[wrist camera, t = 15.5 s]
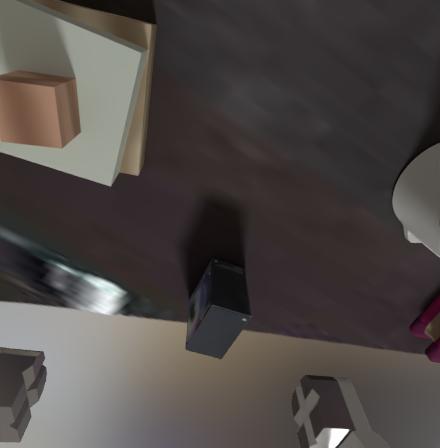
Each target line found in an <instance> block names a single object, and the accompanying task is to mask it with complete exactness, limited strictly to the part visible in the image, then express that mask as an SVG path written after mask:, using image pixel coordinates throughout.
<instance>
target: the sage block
mask: <svg viewBox="0 0 440 448" xmlns="http://www.w3.org/2000/svg"><path fill="white" fill-rule="evenodd" d="M147 54H148V49H145V48H143V47H141V46H138V45H136V44H134V43H131V42H129V41H126V40H124V39H122V38H119V37H117V36H115V35H112V34H110V33H107V32H105V31H103V30H100V29H98V28H96V27H93V26H91V25H88V24H86V23H84V22H81V21H79V20H77V19H74V18H72V17H70V16H67V15H65V14H62V13H60V12H58V11H55V10H53V9H51V8H48V7H46V6H43V5H41V4H39V3H36V2H34V1H32V0H0V75H2V74H6V73H10V72H14V71H18V70H20V71H27V72H34V73H41V74H49V75H56V76H63V77H70V78H76V84H77V95H78V105H79V116H80V126H81V133H80V134H78V135H77V136H76V137H75V138H74V139H73V140H72V141H70V142H69V143H68V144H67V145H66V146H65V147H64V148H62V149H60V148H51V147H43V146H34V145H25V144H17V143H8V142H1V140H0V152H3V153H6V154H9V155H12V156H16V157H19V158H22V159H25V160H28V161H31V162H35V163H38V164H41V165H44V166H47V167H51V168H54V169H57V170H60V171H63V172H66V173H70V174H73V175H76V176H79V177H82V178H86V179H89V180H92V181H95V182H98V183H101V184H105V185H108V186H111V185H112V183H113V182H114V180H115V178H116V177H117V175H118V173H119V171H120V167H121V162H122V158H123V154H124V150H125V146H126V142H127V137H128V133H129V129H130V125H131V121H132V117H133V112H134V108H135V104H136V100H137V96H138V91H139V87H140V83H141V79H142V75H143V71H144V66H145V62H146V58H147Z"/></svg>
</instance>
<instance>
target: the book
mask: <svg viewBox="0 0 440 448" xmlns="http://www.w3.org/2000/svg"><path fill="white" fill-rule="evenodd" d="M409 330H410V332H411V333H412V335H413V336H415V337H420V338H426V339H428V338H432V340H433V341H434V342H433V343H432V344H431V345H430V346H429V347H428V348H427V349H426V350H425V354H426V355H427V357H428V358H429V360H430V361H432V362H438V363H440V295H439V296H438V297H437V298H436V299H435V300H434V301H433V302H432V303H431V305H430V306H429V307H428V308H427V309H426V310H425V311H424V312H423V314H422V315H421V316H420V317H419V318H417V319H416V321H415V322H414V323H413V324H412V325H411V326H410V329H409Z"/></svg>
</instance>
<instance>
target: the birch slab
mask: <svg viewBox="0 0 440 448" xmlns="http://www.w3.org/2000/svg"><path fill="white" fill-rule="evenodd" d="M32 1H34V2H36V3H39V4H41V5H43V6H46V7H48V8H51V9H53V10H55V11H58V12H60V13H62V14H65V15H67V16H70V17H72V18H74V19H77V20H79V21H81V22H84V23H86V24H88V25H91V26H93V27H96V28H98V29H100V30H103V31H105V32H107V33H110V34H112V35H115V36H117V37H119V38H122V39H124V40H126V41H129V42H131V43H134V44H136V45H138V46H141V47H143V48H145V49H148V54H147V58H146V62H145V66H144V71H143V75H142V79H141V83H140V87H139V91H138V96H137V100H136V104H135V108H134V112H133V117H132V121H131V125H130V129H129V133H128V137H127V142H126V146H125V150H124V154H123V158H122V162H121V167H120V171H119V172H121V173H126V174H132V175H137V176H138V175H139V173H140V171H141V169H142V166H143V164H144V155H145V144H146V134H147V123H148V113H149V102H150V92H151V81H152V70H153V60H154V49H155V39H156V28H157V25H155V24H151V23H147V22H143V21H139V20H135V19H131V18H127V17H123V16H119V15H115V14H111V13H107V12H103V11H99V10H95V9H91V8H87V7H83V6H79V5H75V4H71V3H67V2H63V1H59V0H32Z"/></svg>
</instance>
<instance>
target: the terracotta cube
mask: <svg viewBox="0 0 440 448" xmlns="http://www.w3.org/2000/svg"><path fill="white" fill-rule="evenodd" d="M80 133H81V126H80V116H79V105H78V95H77V84H76V78H70V77H63V76H56V75H49V74H41V73H34V72H27V71H20V70H18V71H14V72H10V73H6V74H2V75H0V140H1V142H8V143H17V144H25V145H34V146H43V147H51V148H60V149H62V148H64V147H65V146H66V145H67V144H68V143H69V142H70V141H72V140H73V139H74V138H75V137H76V136H77V135H78V134H80Z"/></svg>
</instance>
